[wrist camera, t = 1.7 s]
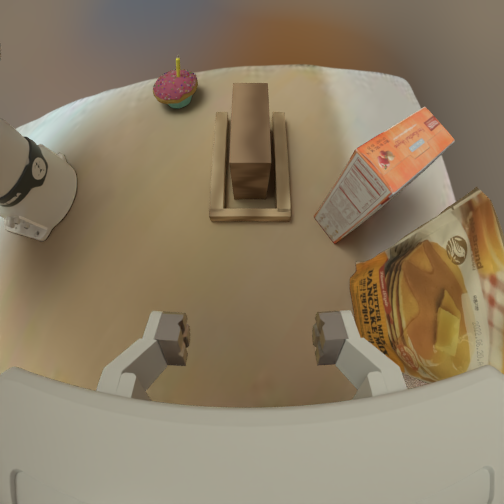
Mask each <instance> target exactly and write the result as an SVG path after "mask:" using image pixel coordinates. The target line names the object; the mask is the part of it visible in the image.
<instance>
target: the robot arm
mask: <svg viewBox="0 0 504 504" xmlns="http://www.w3.org/2000/svg"><path fill="white" fill-rule="evenodd" d="M0 60H1V44H0ZM76 189H77V177H76V173H75V171H74V169H73V168H72V167H71V166H70V165H69V164H68V163H67V162H66V159H65V156H64V155H63V154H62V153H58V154H55V153H54V152H52V151H51V150H49V149H48V148H46V147H45V146H43V145H41V144H39V145H36V143H35V142H34V141H33V140H31V139H29V138H28V137H23V136H22V135H21V134H20V133H19V132H17V131H16V130H15V129H14V128H13V127H12V126H11V125H10V124H9V123H7V122H6V121H5V120H4V119H1V118H0V216H1V217H3V218H4V226H5V229H6V230H7V231H9V232H12V233H16V234H19V235H22V236H26V237H29V238H33V239H36V240H39V241H44V240H46V238H47V237H48V235H49V234H50V232H51V230H52V229H53V227H54V226H56V225H57V224H58V223H59V222H60V221H61V220H62V219H63V218H64V216H65V215H66V214H67V212H68V210H69V209H70V207H71V205H72V203H73V200H74V197H75V194H76ZM315 320H316V323H315V324H314V325H313V330H312V339H313V345H314V346H315V347H316V351H315V356H316V361H317V365H332V364H336V366H337V367H338V368H339V370H340V371H341V372H342V373H343V374H344V375H345V376H346V377H347V378H348V380H349V381H350V382H351V383H352V384H353V385H354V386H355V387H356V389H357V390H358V391H357V393H356V394H355V396H354V397H353V399H352V400H348V401H340V402H332V403H324V404H314V405H302V406H286V407H254V408H240V407H209V406H194V405H182V404H172V403H163V402H155V401H151V399H150V398H149V396H148V395H147V393H146V390H147V389H148V388H149V387H150V385H151V384H152V383H153V382H154V381H155V380H156V379H157V377H158V376H159V375H160V374H161V373H162V372H163V371H164V369H165V368H166V367H167V365H176V366H186V361H187V356H188V353H187V349H186V348H187V347H188V346H189V344H190V328H189V325H188V324H187V315H186V313H179V312H164V311H163V312H162V311H152V312H151V314H150V317H149V320H148V323H147V326H146V329H145V332H144V335H143V338H142V339H138V340H137V341H136V342H134V343H133V344H132V345H131V346H130V347H128V348H127V349H126V350H125V351H124V352H122V353H121V354H120V355H119V356H118V357H116V358H115V359H114V360H113V361H112V362H110V363H109V364H108V365H107V366H106V367H104V369H103V372H102V375H101V377H100V380H99V383H98V386H97V389H96V391H94V390H90V389H86V388H82V387H78V386H74V385H71V384H67V383H64V382H60V381H57V380H54V379H50V378H47V377H44V376H41V375H38V374H35V373H32V372H29V371H27V370H24V369H22V368H19V367H11V368H9V369H8V370H6V371H5V372H3V373H2V374H0V504H504V374H503V373H501V372H500V371H499V370H497V369H496V368H494V367H493V366H491V365H484V366H481V367H478V368H476V369H473V370H470V371H467V372H464V373H462V374H459V375H456V376H453V377H449V378H446V379H443V380H440V381H436V382H433V383H429V384H426V385H422V386H418V387H414V388H410V389H407V386H406V384H405V381H404V378H403V375H402V372H401V370H400V367H399V366H398V365H397V364H395V363H394V362H393V361H392V360H391V359H389V358H388V357H387V356H386V355H384V354H383V353H382V352H381V351H379V350H378V349H377V348H376V347H375V346H373V345H372V344H371V343H370V342H368V341H367V340H366V339H365V338H361V337H360V334H359V332H358V329H357V326H356V323H355V320H354V318H353V315H352V312H351V311H350V310H345V311H328V312H317V313H316V317H315Z"/></svg>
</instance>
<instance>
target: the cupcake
mask: <svg viewBox="0 0 504 504" xmlns="http://www.w3.org/2000/svg"><path fill="white" fill-rule="evenodd" d="M197 86H198V82H197V78H196V74H195V75H194V73H192V72H189V71H188V70H181V69H180V58H179V55H178V58H176V69H175V70H172V71H169V72H167V73H164V74H163V75H162V76H160V77H159V78H158V80H157V81H156V83H155V84H154V86H153V87H154V88H153V94H154V96H155V97H156V98H157V100H158V101H159V102H161V103H165V104H168V105H169V106H170V107H172V108H182V107H184V106H186V105H188V104H189V103H190V101H191V98H192V94H194V93H195V91H196V89H197Z"/></svg>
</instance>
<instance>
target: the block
mask: <svg viewBox="0 0 504 504" xmlns="http://www.w3.org/2000/svg"><path fill="white" fill-rule="evenodd" d="M229 164H230V172H231V179H232V186H233V194H234V199H266V195H267V188H268V181H269V174H270V168H271V144H270V120H269V99H268V83H233V94H232V113H231V134H230V159H229Z"/></svg>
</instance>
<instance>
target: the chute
mask: <svg viewBox="0 0 504 504" xmlns="http://www.w3.org/2000/svg"><path fill="white" fill-rule="evenodd" d="M272 129H273V151H274V177H275V208H276V209H225V181H226V156H227V135H228V113H227V112H216V119H215V131H214V144H213V158H212V174H211V191H210V211H209V217H210V219H211V221H286V222H289V220H290V217H291V208H290V188H289V170H288V154H287V140H286V127H285V115H284V112H273V117H272Z"/></svg>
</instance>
